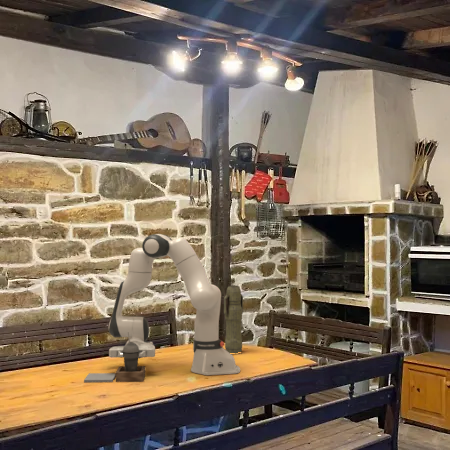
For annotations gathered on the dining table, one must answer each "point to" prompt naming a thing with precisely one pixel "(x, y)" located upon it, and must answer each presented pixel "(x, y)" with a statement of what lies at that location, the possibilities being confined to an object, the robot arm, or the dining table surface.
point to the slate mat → (100, 377)
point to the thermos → (233, 319)
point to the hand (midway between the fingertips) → (130, 355)
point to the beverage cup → (130, 356)
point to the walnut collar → (130, 375)
